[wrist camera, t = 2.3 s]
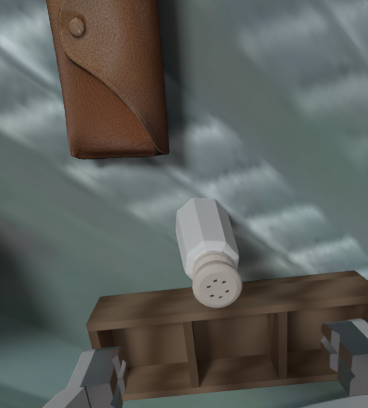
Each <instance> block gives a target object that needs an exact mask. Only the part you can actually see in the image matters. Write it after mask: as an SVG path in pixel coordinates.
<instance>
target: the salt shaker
mask: <svg viewBox="0 0 368 408" xmlns="http://www.w3.org/2000/svg"><path fill="white" fill-rule="evenodd" d="M176 235H177V240H178V244H179V249H180V253H181V258H182V262H183V267H184V270H185V273H186V274H187V275H188V276H189V277H190V278H191V279H192V280H193V285H192V289H193V293H194V295H195V297H196V299H197V300H198V301H199V302H200V303H202V304H204V305H205V306H208V307H212V308H221V307H225V306H227V305H230V304H231V303H233V302H234V301H235V300H236V299H237V298H238V297H239V295H240V293H241V291H242V279H241V277H240V275H239V273H238V272H237V268H238V261H239V254H238V249H237V245H236V242H235V238H234V234H233V231H232V227H231V223H230V220H229V216H228V214H227V213H226V211H225V210H224V209H223V208H222V207H221V206H220V205H219V203H218V202H217V201H216V200H215V199H208V198H192V199H191V200H190V201H188V202H187V203H186V204H185V205H184V206H183V207H181V208H180V209H179V210H178V211H177V216H176Z"/></svg>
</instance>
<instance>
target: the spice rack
mask: <svg viewBox="0 0 368 408" xmlns="http://www.w3.org/2000/svg"><path fill="white" fill-rule="evenodd" d="M359 318H361V319H363V320H365V321H366V322H367V323H368V280H366V279H365V278H364V277H362V276H361V275H360V274H358V273H357V272H356V271H345V272H335V273H326V274H316V275H306V276H297V277H287V278H277V279H268V280H258V281H249V282H242V291H241V293H240V295H239V297H238V298H237V299H236V300H235V301H234V302H233V303H231V304H230V305H227V306H225V307H221V308H212V307H208V306H205V305H204V304H202V303H200V302H199V301H198V300H197V299H196V297H195V295H194V293H193V289H192V287H191V288H181V289H171V290H162V291H152V292H143V293H133V294H123V295H114V296H104V297H100V298H99V300H98V302H97V304H96V306H95V308H94V310H93V312H92V314H91V316H90V318H89V320H88V322H87V324H86V326H87V330H88V333H89V337H90V341H91V345H92V349H97V348H107V347H119V346H121V347H123V351H124V357H123V360H124V361H125V362H126V364H127V372H128V376H127V386H126V391H125V392H124V393H123V395H122V400H123V401H127V400H137V399H147V398H158V397H168V396H178V395H189V394H199V393H210V392H220V391H230V390H241V389H251V388H261V387H272V386H282V385H292V384H303V383H313V382H323V381H334V380H338V379H337V372H336V371H334V370H333V369H331V368H330V367H329V366H328V364H327V363H326V361H325V359H324V357H323V354H322V351H321V339H322V338H323V337H324V335H323V333H322V332H321V326H322V324H323V323H328V322H336V321H344V320H351V319H359Z"/></svg>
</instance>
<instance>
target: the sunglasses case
mask: <svg viewBox="0 0 368 408" xmlns="http://www.w3.org/2000/svg"><path fill="white" fill-rule="evenodd" d="M46 3H47V9H48V14H49V20H50V25H51V30H52V35H53V42H54V47H55V52H56V58H57V65H58V70H59V76H60V82H61V88H62V94H63V101H64V109H65V117H66V126H67V134H68V142H69V147H70V152H71V155H72V156H73V157H76V158H78V159H104V158H121V157H149V156H158V155H165V154H166V155H168V154H169V139H168V123H167V109H166V96H165V83H164V73H163V61H162V50H161V39H160V28H159V16H158V4H157V0H46Z"/></svg>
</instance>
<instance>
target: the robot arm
mask: <svg viewBox="0 0 368 408" xmlns="http://www.w3.org/2000/svg"><path fill="white" fill-rule="evenodd" d="M321 332H322V333H323V335H324V337H323V338H322V339H321V351H322V354H323V357H324V359H325V361H326V363H327V364H328V366H329V367H330V368H331V369H333V370H334V371H336V372H337V379H338V381H339V382H340V383H341V385H342V386H343V388H344V389H345V391H346V392H347V394H348V395H349V396H359V395H368V323H367V322H366V321H365V320H363V319H361V318H359V319H351V320H344V321H336V322H328V323H323V324H322V326H321ZM123 357H124V351H123V347H121V346H119V347H107V348H97V349H88V350H84V351H83V352H82V353H81V356H80V358H79V360H78V362H77V365H76V367H75V369H74V371H73V373H72V376H71V378H70V380H69V382H68V384H67V387H66V389H63V390H61V391H60V392H58V393H57V394H56V395H55V396H54V397H53V398H52V399H51V400H50V401H49V402H48V403H47V404H46V405H45V406H44V407H43V408H122V406H123V400H122V395H123V393H124V392H125V391H126V386H127V376H128V372H127V364H126V362H125V361H124V360H123Z"/></svg>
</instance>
